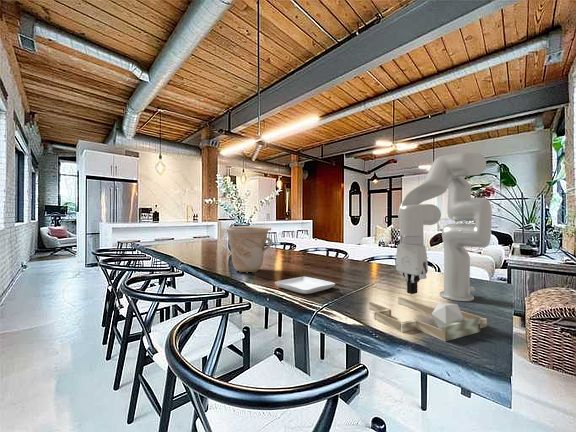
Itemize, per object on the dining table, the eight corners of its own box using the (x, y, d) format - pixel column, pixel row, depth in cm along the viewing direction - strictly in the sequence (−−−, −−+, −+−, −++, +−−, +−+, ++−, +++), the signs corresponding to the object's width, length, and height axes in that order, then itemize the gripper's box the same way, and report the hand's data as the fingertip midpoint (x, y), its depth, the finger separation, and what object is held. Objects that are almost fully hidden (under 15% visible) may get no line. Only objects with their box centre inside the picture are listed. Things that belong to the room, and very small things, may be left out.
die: (457, 343, 85) (476, 316, 85) (443, 333, 81) (463, 305, 81) (435, 326, 92) (452, 302, 92) (421, 317, 89) (438, 291, 89)
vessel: (285, 268, 177) (280, 220, 174) (245, 281, 158) (239, 228, 156) (258, 262, 199) (253, 220, 196) (221, 273, 180) (215, 227, 178)
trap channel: (410, 301, 116) (410, 291, 116) (491, 328, 88) (492, 315, 88) (355, 311, 103) (356, 299, 103) (430, 345, 76) (430, 330, 76)
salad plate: (304, 281, 150) (304, 275, 150) (336, 289, 135) (336, 282, 135) (273, 288, 136) (273, 281, 136) (305, 298, 120) (305, 290, 120)
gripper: (387, 239, 104) (388, 289, 104) (422, 243, 91) (423, 300, 91) (402, 238, 107) (402, 286, 108) (438, 241, 94) (439, 297, 94)
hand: (412, 293), depth 99 cm, fingers closed
